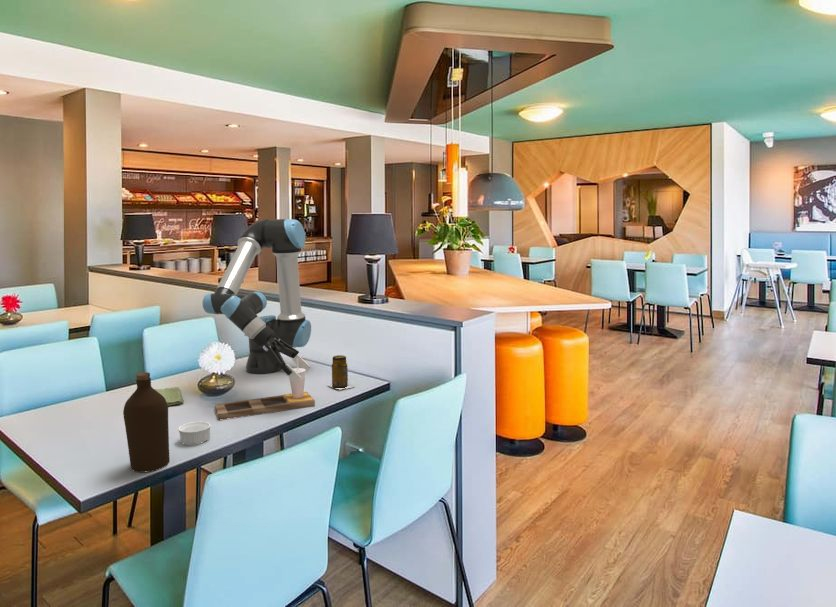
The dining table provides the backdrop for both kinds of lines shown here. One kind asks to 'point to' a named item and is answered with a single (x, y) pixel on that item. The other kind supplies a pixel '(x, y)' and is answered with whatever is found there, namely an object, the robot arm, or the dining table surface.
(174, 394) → the washcloth
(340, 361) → the condiment
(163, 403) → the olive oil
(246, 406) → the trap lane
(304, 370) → the smoothie
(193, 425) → the ramekin
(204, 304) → the robot arm
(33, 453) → the dining table surface
